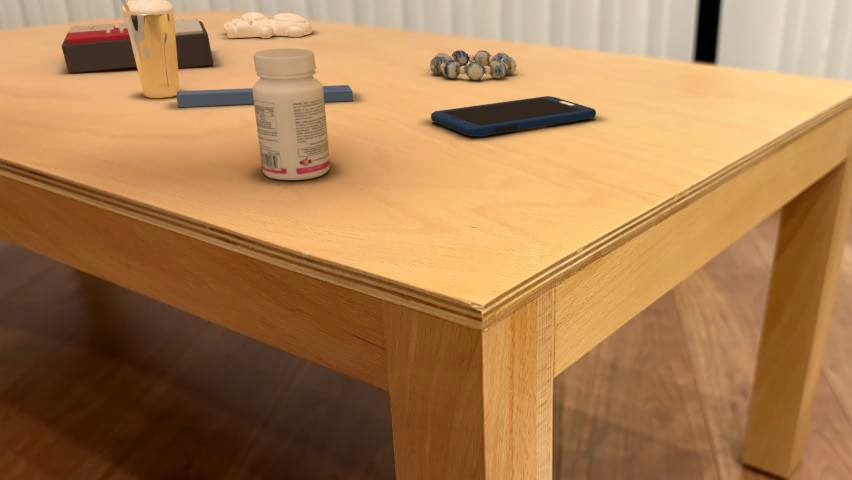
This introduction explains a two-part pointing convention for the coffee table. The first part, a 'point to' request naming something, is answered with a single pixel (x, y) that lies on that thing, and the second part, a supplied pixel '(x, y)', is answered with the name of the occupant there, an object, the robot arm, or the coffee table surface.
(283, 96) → the pill bottle
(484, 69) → the bracelet
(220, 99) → the blue ruler strip
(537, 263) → the coffee table surface
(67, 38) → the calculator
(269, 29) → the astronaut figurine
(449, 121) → the cell phone
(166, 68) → the milkshake
